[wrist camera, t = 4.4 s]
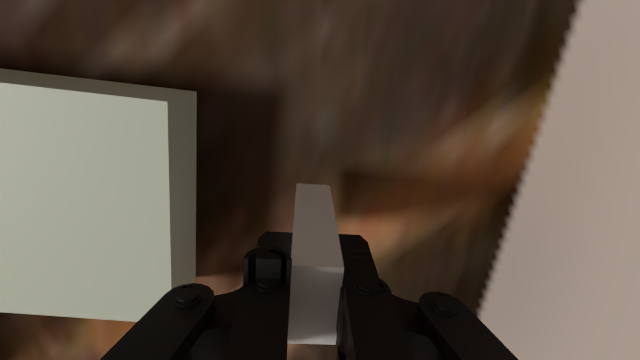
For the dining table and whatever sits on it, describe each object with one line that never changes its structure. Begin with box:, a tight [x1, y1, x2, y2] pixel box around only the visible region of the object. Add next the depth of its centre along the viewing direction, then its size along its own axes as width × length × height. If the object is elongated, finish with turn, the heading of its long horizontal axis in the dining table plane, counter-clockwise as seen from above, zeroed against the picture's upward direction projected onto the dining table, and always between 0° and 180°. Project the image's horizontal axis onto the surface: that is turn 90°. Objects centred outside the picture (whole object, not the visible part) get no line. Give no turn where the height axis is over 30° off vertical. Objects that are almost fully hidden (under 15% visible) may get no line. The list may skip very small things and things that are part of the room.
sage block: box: [0, 68, 197, 322], centre depth 16 cm, size 12×10×4 cm
